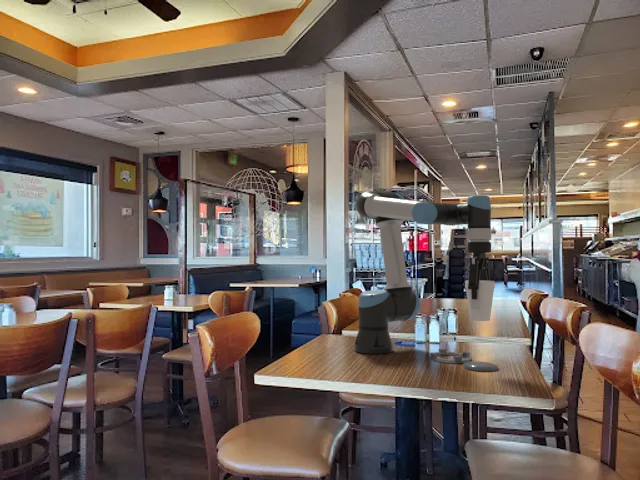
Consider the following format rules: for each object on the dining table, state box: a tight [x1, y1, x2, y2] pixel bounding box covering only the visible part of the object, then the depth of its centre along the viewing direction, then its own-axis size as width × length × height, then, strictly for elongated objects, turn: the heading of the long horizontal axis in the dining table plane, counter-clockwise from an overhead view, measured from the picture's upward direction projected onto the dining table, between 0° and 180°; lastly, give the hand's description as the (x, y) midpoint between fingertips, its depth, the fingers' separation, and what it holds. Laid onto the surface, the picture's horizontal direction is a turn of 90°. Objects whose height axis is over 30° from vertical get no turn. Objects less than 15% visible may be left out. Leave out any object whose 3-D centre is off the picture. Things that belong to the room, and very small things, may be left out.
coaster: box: [462, 360, 499, 373], centre depth 164 cm, size 11×11×1 cm
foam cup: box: [464, 279, 496, 322], centre depth 165 cm, size 10×9×13 cm
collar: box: [428, 348, 472, 364], centre depth 178 cm, size 14×14×2 cm
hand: (479, 307), depth 165 cm, fingers closed on foam cup, 9 cm apart
